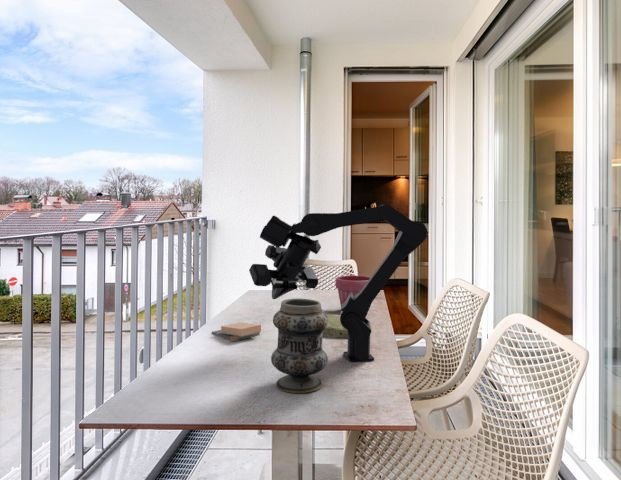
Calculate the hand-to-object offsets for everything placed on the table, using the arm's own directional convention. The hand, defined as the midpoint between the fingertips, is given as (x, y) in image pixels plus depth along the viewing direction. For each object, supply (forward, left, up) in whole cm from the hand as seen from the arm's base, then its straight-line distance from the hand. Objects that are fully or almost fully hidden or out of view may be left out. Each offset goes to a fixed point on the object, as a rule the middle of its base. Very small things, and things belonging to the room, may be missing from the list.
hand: (273, 298), depth 122 cm
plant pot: (+36, -34, -13) cm, 51 cm away
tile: (+5, +6, -10) cm, 13 cm away
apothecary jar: (-29, -2, -13) cm, 32 cm away
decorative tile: (+14, -20, -14) cm, 28 cm away
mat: (+12, +10, -13) cm, 21 cm away
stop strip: (+8, +7, -13) cm, 17 cm away
